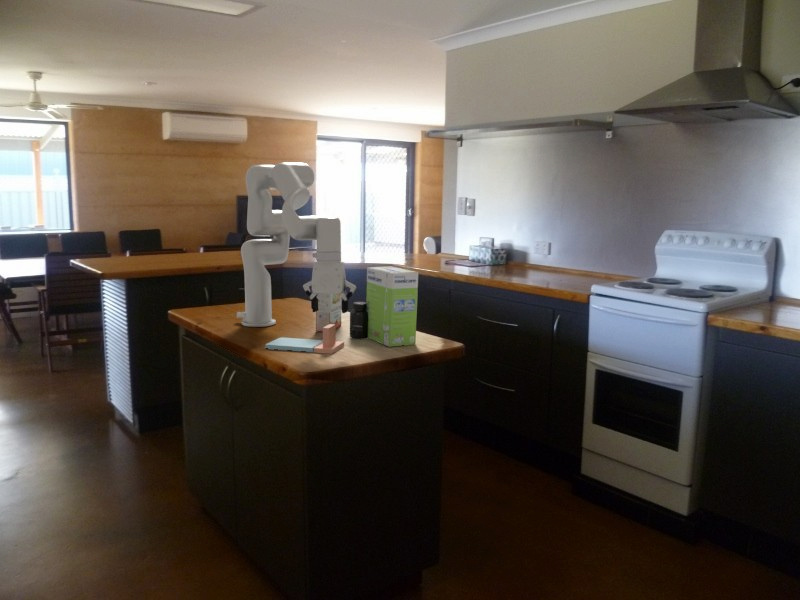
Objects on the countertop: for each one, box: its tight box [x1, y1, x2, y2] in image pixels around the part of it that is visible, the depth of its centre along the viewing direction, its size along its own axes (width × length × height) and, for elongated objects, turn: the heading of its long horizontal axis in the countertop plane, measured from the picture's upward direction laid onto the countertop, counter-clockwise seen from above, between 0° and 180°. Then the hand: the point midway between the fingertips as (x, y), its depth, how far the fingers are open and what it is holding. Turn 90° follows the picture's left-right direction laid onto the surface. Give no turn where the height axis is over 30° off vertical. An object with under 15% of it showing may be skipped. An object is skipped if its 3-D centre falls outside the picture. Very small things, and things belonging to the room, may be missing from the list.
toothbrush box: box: [365, 265, 419, 348], centre depth 215 cm, size 18×10×24 cm, turn 30°
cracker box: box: [315, 294, 343, 333], centre depth 234 cm, size 14×6×21 cm, turn 168°
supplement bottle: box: [349, 301, 370, 340], centre depth 221 cm, size 7×7×12 cm
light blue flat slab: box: [264, 336, 323, 353], centre depth 207 cm, size 16×11×1 cm
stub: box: [313, 324, 345, 355], centre depth 204 cm, size 6×11×7 cm, turn 166°
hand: (329, 312), depth 202 cm, fingers open, 9 cm apart
